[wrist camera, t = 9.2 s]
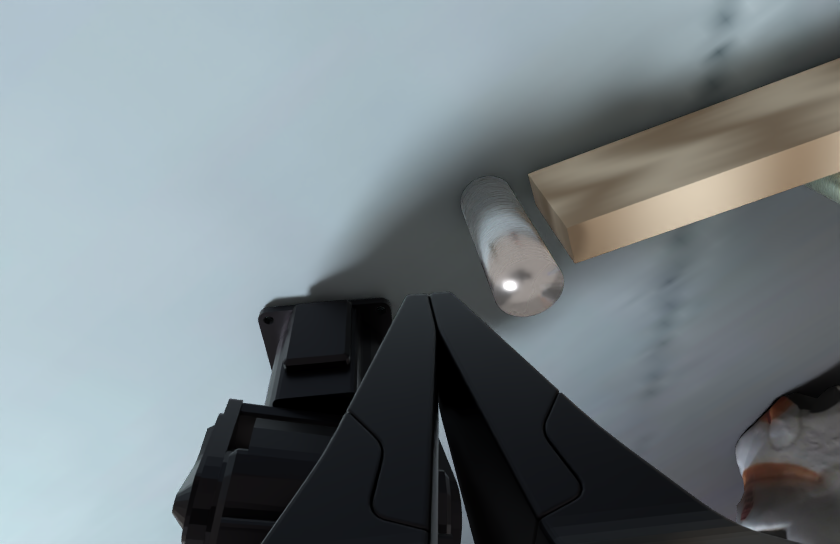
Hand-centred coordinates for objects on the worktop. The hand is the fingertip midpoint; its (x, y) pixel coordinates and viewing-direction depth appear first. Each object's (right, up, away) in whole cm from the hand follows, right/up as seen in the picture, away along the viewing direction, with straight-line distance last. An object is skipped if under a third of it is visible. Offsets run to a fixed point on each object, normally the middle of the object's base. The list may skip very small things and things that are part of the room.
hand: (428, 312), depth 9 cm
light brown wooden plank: (+13, +7, +12) cm, 19 cm away
